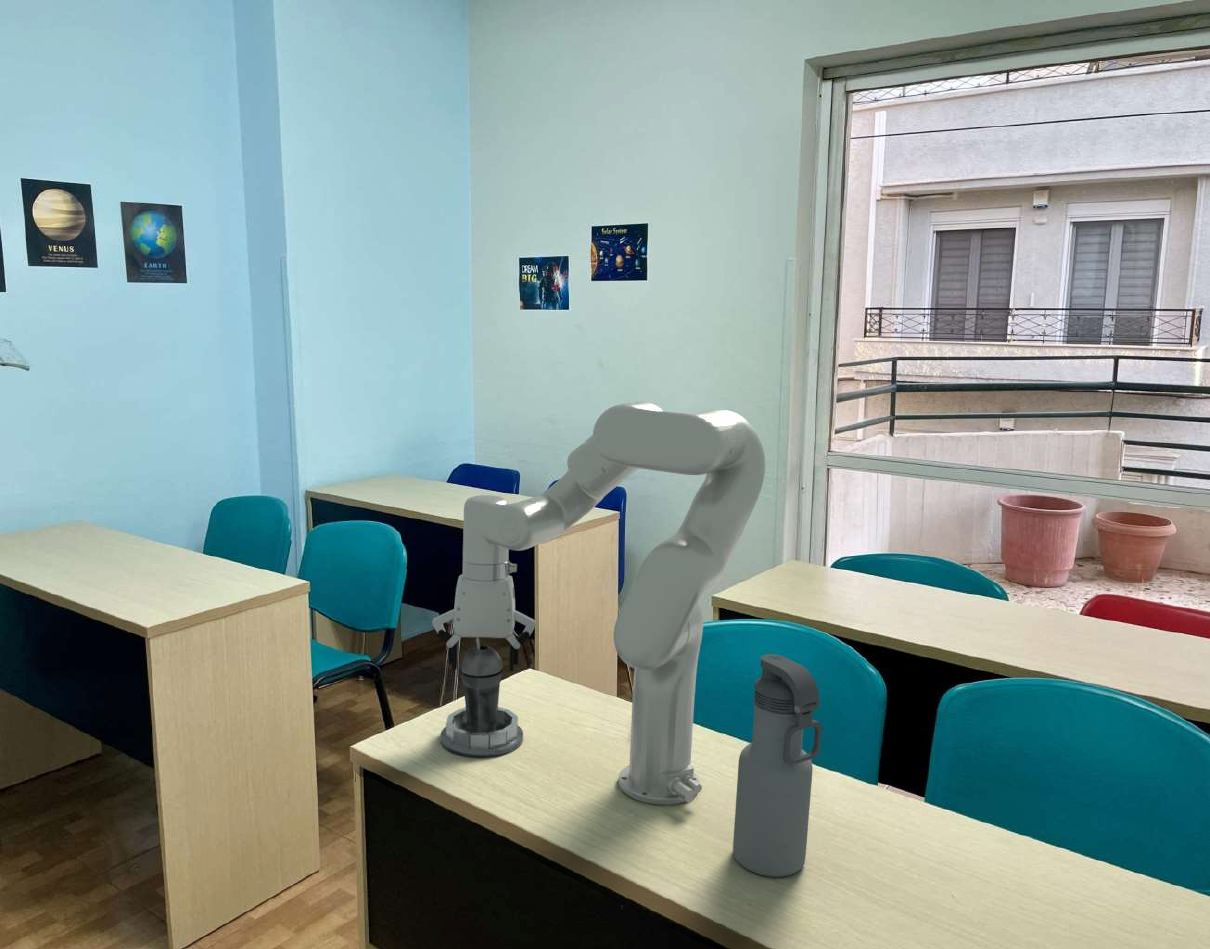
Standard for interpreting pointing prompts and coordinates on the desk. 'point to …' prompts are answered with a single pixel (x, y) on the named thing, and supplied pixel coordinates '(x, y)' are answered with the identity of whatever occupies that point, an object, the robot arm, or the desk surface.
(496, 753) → the base
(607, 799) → the desk surface
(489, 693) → the beverage cup
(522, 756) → the desk surface
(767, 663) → the water bottle
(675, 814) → the desk surface
